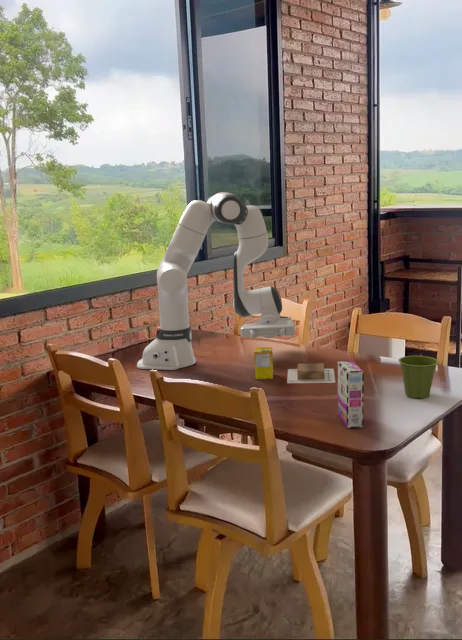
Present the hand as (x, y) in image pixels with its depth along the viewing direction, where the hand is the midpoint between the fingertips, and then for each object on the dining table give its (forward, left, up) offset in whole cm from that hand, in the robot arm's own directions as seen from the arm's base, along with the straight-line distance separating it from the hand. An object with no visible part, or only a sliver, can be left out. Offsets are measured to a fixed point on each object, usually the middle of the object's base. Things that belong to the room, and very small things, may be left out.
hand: (266, 334), depth 240 cm
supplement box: (0, -12, -13) cm, 18 cm away
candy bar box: (+27, -52, -13) cm, 60 cm away
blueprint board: (+16, -12, -13) cm, 24 cm away
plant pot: (+49, -30, -13) cm, 59 cm away
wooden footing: (+16, -12, -12) cm, 23 cm away
